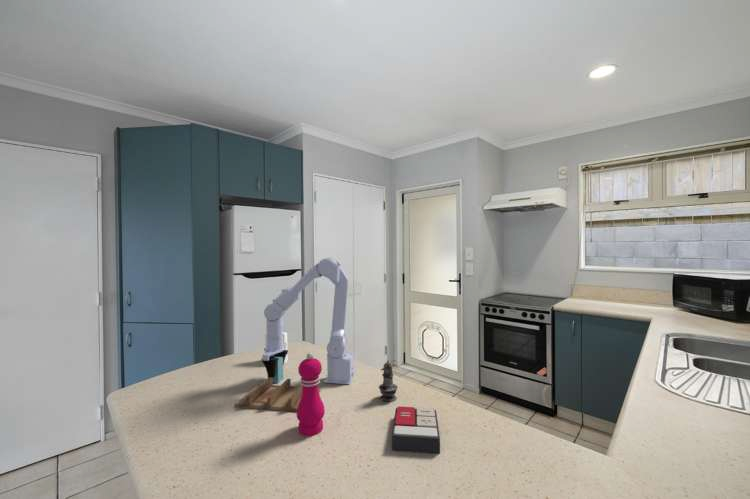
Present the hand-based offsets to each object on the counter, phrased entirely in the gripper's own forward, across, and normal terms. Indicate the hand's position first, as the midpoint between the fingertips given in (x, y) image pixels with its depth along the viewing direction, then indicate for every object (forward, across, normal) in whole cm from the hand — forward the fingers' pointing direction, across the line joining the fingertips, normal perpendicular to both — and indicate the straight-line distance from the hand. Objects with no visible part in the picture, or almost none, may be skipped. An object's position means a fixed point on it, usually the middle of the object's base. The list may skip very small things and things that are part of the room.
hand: (275, 373), depth 115 cm
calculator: (+3, +26, +51) cm, 58 cm away
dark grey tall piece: (+3, +8, +42) cm, 43 cm away
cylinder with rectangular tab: (+3, -19, -9) cm, 21 cm away
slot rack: (+2, +13, +8) cm, 15 cm away
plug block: (+2, 0, 0) cm, 2 cm away
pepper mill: (+3, +28, +24) cm, 37 cm away
